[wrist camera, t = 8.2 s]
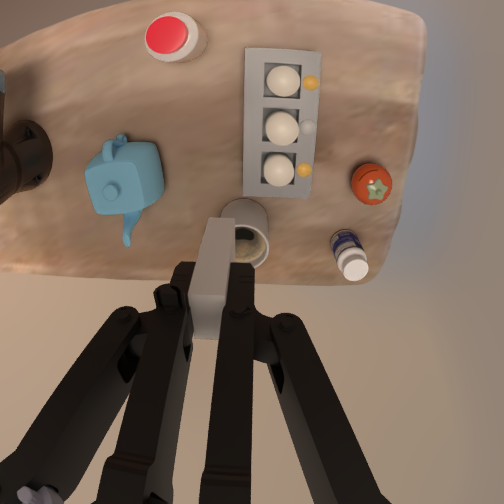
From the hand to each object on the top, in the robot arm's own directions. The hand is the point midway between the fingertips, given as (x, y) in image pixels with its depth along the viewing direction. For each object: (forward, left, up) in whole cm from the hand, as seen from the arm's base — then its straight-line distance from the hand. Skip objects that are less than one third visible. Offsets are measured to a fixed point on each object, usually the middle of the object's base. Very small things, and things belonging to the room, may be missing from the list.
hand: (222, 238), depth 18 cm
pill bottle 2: (+20, -22, -37) cm, 47 cm away
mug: (-1, -18, -37) cm, 41 cm away
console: (+5, +1, -36) cm, 37 cm away
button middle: (+5, +1, -32) cm, 32 cm away
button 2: (+6, +8, -33) cm, 35 cm away
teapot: (-20, -9, -37) cm, 43 cm away
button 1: (+6, -6, -33) cm, 34 cm away
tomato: (+22, -8, -37) cm, 43 cm away
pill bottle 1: (-10, +15, -37) cm, 41 cm away
